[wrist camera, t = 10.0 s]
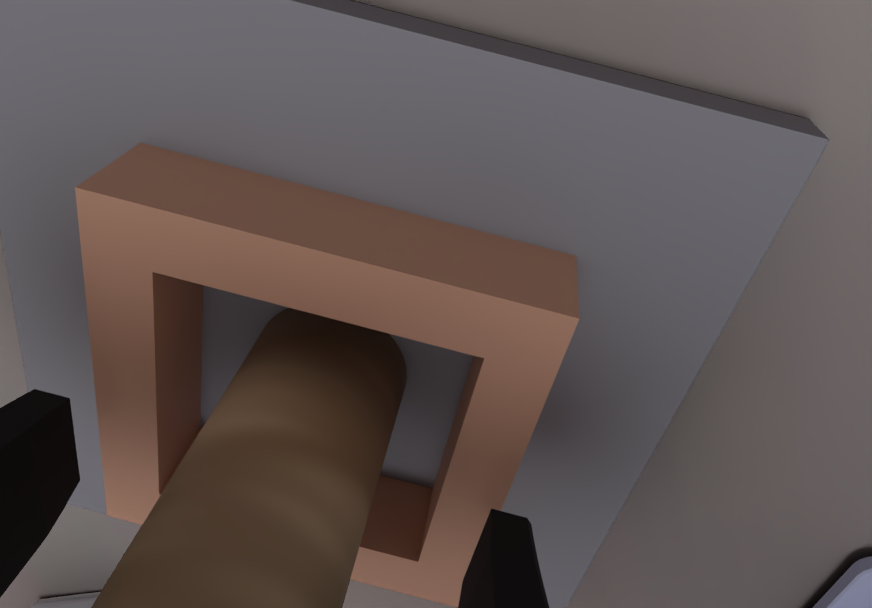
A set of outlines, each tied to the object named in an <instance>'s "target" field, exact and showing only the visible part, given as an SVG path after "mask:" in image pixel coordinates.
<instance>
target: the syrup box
mask: <svg viewBox="0 0 872 608" xmlns="http://www.w3.org/2000/svg"><path fill="white" fill-rule="evenodd" d="M99 594H100V592H95V593H86V594H78V595H70V596H61V597H54V598H47V599H39V600H38V601H37V602H36V603H35V604H34V605H33V606H32V607H31V608H91V607H92V605H93V604H94V602H95V600H96V599H97V597H98V596H99Z"/></svg>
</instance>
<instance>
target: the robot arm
mask: <svg viewBox="0 0 872 608" xmlns="http://www.w3.org/2000/svg"><path fill="white" fill-rule="evenodd" d="M79 481H80V474H79V466H78V459H77V451H76V443H75V435H74V427H73V419H72V411H71V404H70V398H67V397H64V396H60V395H56V394H52V393H48V392H44V391H41V390H37V389H33V390H32V391H30V392H28V393H26V394H24V395H23V396H21V397H19V398H17V399H16V400H14V401H12V402H10V403H8V404H7V405H5V406H3V407H2V408H0V597H1V596H2V595H3V593H4V592H5V591H6V589H7V588H8V587H9V586H10V584H11V583H12V582H13V580H14V579H15V578H16V576H17V575H18V574H19V573H20V571H21V570H22V569H23V567H24V566H25V565H26V563H27V562H28V561H29V559H30V558H31V557H32V555H33V554H34V553H35V552H36V550H37V549H38V548H39V546H40V545H41V543H42V542H43V541H44V539H45V538H46V537H47V535H48V534H49V532H50V530H51V529H52V527H53V526H54V524H55V522H56V521H57V519H58V517H59V516H60V514H61V513H62V511H63V509H64V507H65V506H66V504H67V502H68V501H69V499H70V497H71V495H72V494H73V492H74V490H75V488H76V487H77V485H78V483H79ZM458 608H549V604H548V600H547V596H546V592H545V588H544V584H543V580H542V576H541V572H540V567H539V563H538V558H537V553H536V548H535V543H534V537H533V531H532V525H531V523H530V521H529V520H528V518H526V517H522V516H518V515H514V514H510V513H507V512H503V511H499V510H495V509H491V510H490V513H489V516H488V518H487V521H486V523H485V526H484V528H483V531H482V533H481V536H480V538H479V541H478V543H477V546H476V548H475V551H474V553H473V556H472V558H471V561H470V563H469V566H468V568H467V571H466V574H465V576H464V579H463V582H462V588H461V593H460V599H459V605H458ZM813 608H872V556H870V557H865V558H862V559H859V560H858V561H856V562H855V563H854V564H853V565H852V566H851V567H850V568H849V569H848V570H847V571H846V572H845V573H844V574H843V575H842V576H841V577H840V579H839V580H838V581H837V582H836V583H835V584H834V585H833V586H832V587H831V588H830V589H829V590H828V591H827V593H826V594H825V595H824V596H823V597H822V598H821V599H820V600H819V601H818V602H817V603H816V604H815V605H814V607H813Z"/></svg>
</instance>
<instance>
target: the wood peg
mask: <svg viewBox="0 0 872 608" xmlns="http://www.w3.org/2000/svg"><path fill="white" fill-rule="evenodd" d="M406 380H407V371H406V364H405V361H404V357H403V355H402V353H401V350H400V348H399V347H398V345H397V344H396V342H395V340H394V339H393V338H392V337H391V336H390V334H389V333H385V332H381V331H377V330H373V329H369V328H366V327H362V326H358V325H354V324H350V323H346V322H343V321H339V320H335V319H331V318H327V317H323V316H320V315H316V314H312V313H308V312H304V311H300V310H297V309H293V308H287V309H285V310H283V311H281V312H280V313H278V314H277V315H276V316H274V317H273V318H272V319H271V320H270V321H269V322H268V323H267V324H266V326H265V328H264V329H263V331H262V332H261V334H260V336H259V337H258V339H257V341H256V342H255V344H254V345H253V347H252V349H251V350H250V352H249V353H248V355H247V357H246V358H245V360H244V362H243V363H242V365H241V366H240V368H239V370H238V371H237V373H236V374H235V376H234V378H233V379H232V381H231V383H230V384H229V386H228V387H227V389H226V391H225V392H224V394H223V395H222V397H221V399H220V400H219V402H218V404H217V405H216V407H215V408H214V410H213V412H212V413H211V415H210V416H209V418H208V420H207V421H206V423H205V425H204V426H203V428H202V429H201V431H200V433H199V434H198V436H197V437H196V439H195V441H194V442H193V444H192V445H191V447H190V449H189V450H188V452H187V454H186V455H185V457H184V458H183V460H182V462H181V463H180V465H179V466H178V468H177V470H176V471H175V473H174V475H173V476H172V478H171V479H170V481H169V483H168V484H167V486H166V487H165V489H164V491H163V492H162V494H161V496H160V497H159V499H158V500H157V502H156V504H155V505H154V507H153V508H152V510H151V512H150V513H149V515H148V517H147V518H146V520H145V521H144V523H143V525H142V526H141V528H140V529H139V531H138V533H137V534H136V536H135V538H134V539H133V541H132V542H131V544H130V546H129V547H128V549H127V550H126V552H125V554H124V555H123V557H122V558H121V560H120V562H119V563H118V565H117V567H116V568H115V570H114V571H113V573H112V575H111V576H110V578H109V579H108V581H107V583H106V584H105V586H104V588H103V589H102V591H101V592H100V594H99V596H98V597H97V599H96V600H95V602H94V604H93V605H92V607H91V608H342V606H343V602H344V599H345V595H346V592H347V588H348V585H349V581H350V578H351V574H352V571H353V567H354V564H355V561H356V557H357V554H358V550H359V547H360V543H361V540H362V536H363V533H364V529H365V526H366V522H367V519H368V515H369V512H370V508H371V505H372V501H373V498H374V494H375V491H376V487H377V484H378V480H379V477H380V473H381V470H382V466H383V463H384V459H385V456H386V452H387V449H388V445H389V442H390V438H391V435H392V431H393V428H394V424H395V421H396V417H397V414H398V410H399V407H400V403H401V400H402V396H403V393H404V389H405V385H406Z"/></svg>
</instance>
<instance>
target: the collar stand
mask: <svg viewBox="0 0 872 608" xmlns="http://www.w3.org/2000/svg"><path fill="white" fill-rule="evenodd" d="M828 142H829V139H828V138H827V137H826V136H825V135H824V134H823V133H822V132H821V131H820V130H819V129H818V128H817V127H816V126H815V125H814V124H813V123H812V122H811V121H810V120H809V119H806V118H802V117H799V116H795V115H791V114H787V113H783V112H779V111H775V110H772V109H768V108H764V107H760V106H756V105H752V104H748V103H745V102H741V101H737V100H733V99H729V98H725V97H721V96H717V95H714V94H710V93H706V92H702V91H698V90H694V89H690V88H687V87H683V86H679V85H675V84H671V83H667V82H663V81H660V80H656V79H652V78H648V77H644V76H640V75H636V74H632V73H629V72H625V71H621V70H617V69H613V68H609V67H605V66H602V65H598V64H594V63H590V62H586V61H582V60H578V59H575V58H571V57H567V56H563V55H559V54H555V53H551V52H548V51H544V50H540V49H536V48H532V47H528V46H524V45H520V44H517V43H513V42H509V41H505V40H501V39H497V38H493V37H490V36H486V35H482V34H478V33H474V32H470V31H466V30H463V29H459V28H455V27H451V26H447V25H443V24H439V23H435V22H432V21H428V20H424V19H420V18H416V17H412V16H408V15H405V14H401V13H397V12H393V11H389V10H385V9H381V8H378V7H374V6H370V5H366V4H362V3H358V2H354V1H350V0H0V232H1V237H2V243H3V249H4V255H5V261H6V266H7V272H8V278H9V284H10V290H11V295H12V301H13V307H14V313H15V318H16V324H17V330H18V336H19V342H20V347H21V353H22V359H23V365H24V371H25V376H26V382H27V388H28V392H30V391H32V390H33V389H37V390H41V391H44V392H48V393H52V394H56V395H60V396H64V397H67V398H70V404H71V411H72V419H73V427H74V435H75V443H76V451H77V459H78V466H79V474H80V481H79V483H78V485H77V487H76V488H75V490H74V492H73V494H72V495H71V497H70V499H69V501H68V502H67V504H70V505H74V506H77V507H81V508H85V509H89V510H93V511H96V512H100V513H104V514H107V516H110V517H114V518H118V519H122V520H126V521H129V522H133V523H137V524H141V525H143V523H144V521H145V520H146V518H147V517H148V515H149V513H150V512H151V510H152V508H153V507H154V505H155V504H156V502H157V500H158V499H159V497H160V496H161V494H162V492H163V491H164V489H165V487H166V486H167V484H168V483H169V481H170V479H171V478H172V476H173V475H174V473H175V471H176V470H177V468H178V466H179V465H180V463H181V462H182V460H183V458H184V457H185V455H186V454H187V452H188V450H189V449H190V447H191V445H192V444H193V442H194V441H195V439H196V437H197V436H198V434H199V433H200V431H201V429H202V428H203V426H204V425H205V423H206V421H207V420H208V418H209V416H210V415H211V413H212V412H213V410H214V408H215V407H216V405H217V404H218V402H219V400H220V399H221V397H222V395H223V394H224V392H225V391H226V389H227V387H228V386H229V384H230V383H231V381H232V379H233V378H234V376H235V374H236V373H237V371H238V370H239V368H240V366H241V365H242V363H243V362H244V360H245V358H246V357H247V355H248V353H249V352H250V350H251V349H252V347H253V345H254V344H255V342H256V341H257V339H258V337H259V336H260V334H261V332H262V331H263V329H264V328H265V326H266V324H267V323H268V322H269V321H270V320H271V319H272V318H273V317H274V316H276V315H277V314H278V313H280V312H281V311H283V310H285V309H287V308H293V309H297V310H300V311H304V312H308V313H312V314H316V315H320V316H323V317H327V318H331V319H335V320H339V321H343V322H346V323H350V324H354V325H358V326H362V327H366V328H369V329H373V330H377V331H381V332H385V333H389V334H390V336H391V337H392V338H393V339H394V340H395V342H396V344H397V345H398V347H399V348H400V350H401V353H402V355H403V357H404V361H405V364H406V371H407V380H406V385H405V389H404V393H403V396H402V400H401V403H400V407H399V410H398V414H397V417H396V421H395V424H394V428H393V431H392V435H391V438H390V442H389V445H388V449H387V452H386V456H385V459H384V463H383V466H382V470H381V473H380V477H379V480H378V484H377V487H376V491H375V494H374V498H373V501H372V505H371V508H370V512H369V515H368V519H367V522H366V526H365V529H364V533H363V536H362V540H361V543H360V547H359V550H358V554H357V557H356V561H355V564H354V567H353V571H352V574H351V578H350V580H354V581H358V582H362V583H366V584H369V585H373V586H377V587H381V588H385V589H388V590H392V591H396V592H400V593H404V594H407V595H411V596H415V597H419V598H423V599H427V600H430V601H434V602H438V603H442V604H446V605H449V606H453V607H457V608H458V605H459V599H460V593H461V588H462V582H463V579H464V576H465V574H466V571H467V568H468V566H469V563H470V561H471V558H472V556H473V553H474V551H475V548H476V546H477V543H478V541H479V538H480V536H481V533H482V531H483V528H484V526H485V523H486V521H487V518H488V516H489V513H490V510H491V509H495V510H499V511H503V512H507V513H510V514H514V515H518V516H522V517H526V518H528V520H529V521H530V523H531V525H532V531H533V537H534V543H535V548H536V553H537V558H538V563H539V567H540V572H541V576H542V580H543V584H544V588H545V592H546V596H547V600H548V604H549V608H566V606H567V604H568V603H569V601H570V599H571V597H572V596H573V594H574V592H575V590H576V588H577V587H578V585H579V583H580V581H581V580H582V578H583V576H584V574H585V572H586V571H587V569H588V567H589V565H590V564H591V562H592V560H593V558H594V557H595V555H596V553H597V551H598V549H599V548H600V546H601V544H602V542H603V541H604V539H605V537H606V535H607V533H608V532H609V530H610V528H611V526H612V525H613V523H614V521H615V519H616V518H617V516H618V514H619V512H620V510H621V509H622V507H623V505H624V503H625V502H626V500H627V498H628V496H629V494H630V493H631V491H632V489H633V487H634V486H635V484H636V482H637V480H638V479H639V477H640V475H641V473H642V471H643V470H644V468H645V466H646V464H647V463H648V461H649V459H650V457H651V455H652V454H653V452H654V450H655V448H656V447H657V445H658V443H659V441H660V440H661V438H662V436H663V434H664V432H665V431H666V429H667V427H668V425H669V424H670V422H671V420H672V418H673V416H674V415H675V413H676V411H677V409H678V408H679V406H680V404H681V402H682V400H683V399H684V397H685V395H686V393H687V392H688V390H689V388H690V386H691V385H692V383H693V381H694V379H695V377H696V376H697V374H698V372H699V370H700V369H701V367H702V365H703V363H704V361H705V360H706V358H707V356H708V354H709V353H710V351H711V349H712V347H713V346H714V344H715V342H716V340H717V338H718V337H719V335H720V333H721V331H722V330H723V328H724V326H725V324H726V322H727V321H728V319H729V317H730V315H731V314H732V312H733V310H734V308H735V307H736V305H737V303H738V301H739V299H740V298H741V296H742V294H743V292H744V291H745V289H746V287H747V285H748V283H749V282H750V280H751V278H752V276H753V275H754V273H755V271H756V269H757V268H758V266H759V264H760V262H761V260H762V259H763V257H764V255H765V253H766V252H767V250H768V248H769V246H770V244H771V243H772V241H773V239H774V237H775V236H776V234H777V232H778V230H779V229H780V227H781V225H782V223H783V221H784V220H785V218H786V216H787V214H788V213H789V211H790V209H791V207H792V205H793V204H794V202H795V200H796V198H797V197H798V195H799V193H800V191H801V190H802V188H803V186H804V184H805V182H806V181H807V179H808V177H809V175H810V174H811V172H812V170H813V168H814V166H815V165H816V163H817V161H818V159H819V158H820V156H821V154H822V152H823V150H824V149H825V147H826V145H827V143H828Z"/></svg>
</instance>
